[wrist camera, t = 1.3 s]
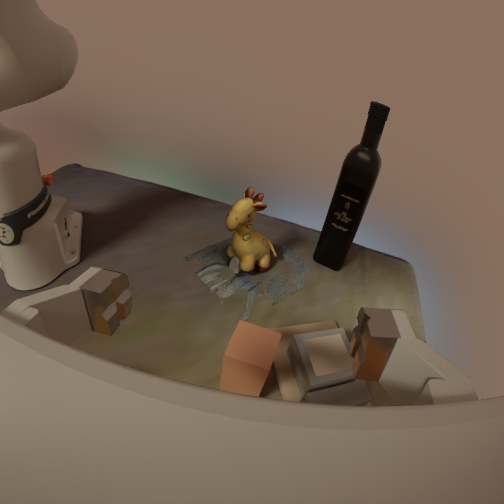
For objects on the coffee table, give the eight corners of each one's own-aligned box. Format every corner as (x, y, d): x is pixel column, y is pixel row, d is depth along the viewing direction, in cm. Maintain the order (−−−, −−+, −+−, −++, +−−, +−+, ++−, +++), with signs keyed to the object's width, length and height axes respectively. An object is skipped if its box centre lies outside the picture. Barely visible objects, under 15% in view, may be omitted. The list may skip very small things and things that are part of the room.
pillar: (219, 393, 33) (223, 354, 27) (231, 364, 36) (239, 319, 30) (254, 406, 32) (269, 370, 26) (264, 376, 36) (281, 333, 29)
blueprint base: (263, 333, 41) (270, 310, 38) (332, 323, 44) (344, 302, 40) (292, 432, 30) (305, 420, 27) (369, 410, 33) (388, 395, 29)
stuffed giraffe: (182, 258, 50) (188, 174, 40) (261, 230, 61) (280, 159, 50) (238, 326, 42) (262, 241, 32) (318, 281, 52) (352, 207, 42)
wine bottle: (338, 273, 53) (398, 113, 33) (310, 260, 54) (359, 98, 35) (345, 257, 57) (399, 109, 37) (320, 245, 58) (365, 97, 39)
